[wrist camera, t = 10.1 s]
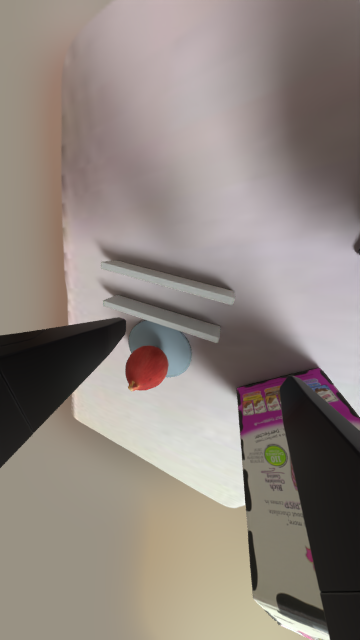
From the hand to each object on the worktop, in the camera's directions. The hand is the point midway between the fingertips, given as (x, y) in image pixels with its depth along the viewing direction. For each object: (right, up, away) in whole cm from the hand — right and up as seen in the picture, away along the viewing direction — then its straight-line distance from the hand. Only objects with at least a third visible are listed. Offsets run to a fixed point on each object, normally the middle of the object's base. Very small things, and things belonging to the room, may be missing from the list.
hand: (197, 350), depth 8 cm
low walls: (-3, +5, +12) cm, 13 cm away
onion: (-4, -3, +16) cm, 17 cm away
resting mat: (-4, -3, +17) cm, 18 cm away
